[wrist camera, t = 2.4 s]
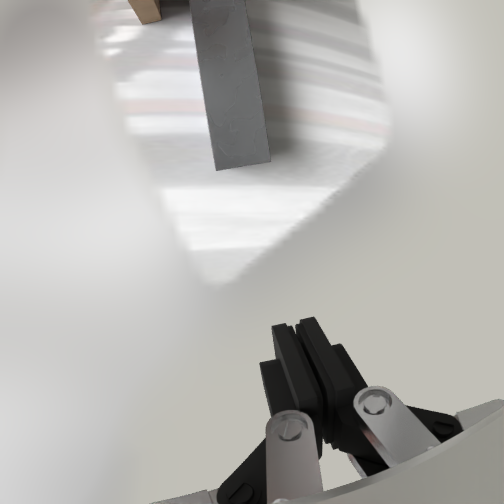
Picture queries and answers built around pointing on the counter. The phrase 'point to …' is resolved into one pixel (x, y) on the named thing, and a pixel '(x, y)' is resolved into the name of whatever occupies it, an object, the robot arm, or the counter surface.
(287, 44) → the counter surface
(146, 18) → the shelf
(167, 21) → the counter surface
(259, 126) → the bar
